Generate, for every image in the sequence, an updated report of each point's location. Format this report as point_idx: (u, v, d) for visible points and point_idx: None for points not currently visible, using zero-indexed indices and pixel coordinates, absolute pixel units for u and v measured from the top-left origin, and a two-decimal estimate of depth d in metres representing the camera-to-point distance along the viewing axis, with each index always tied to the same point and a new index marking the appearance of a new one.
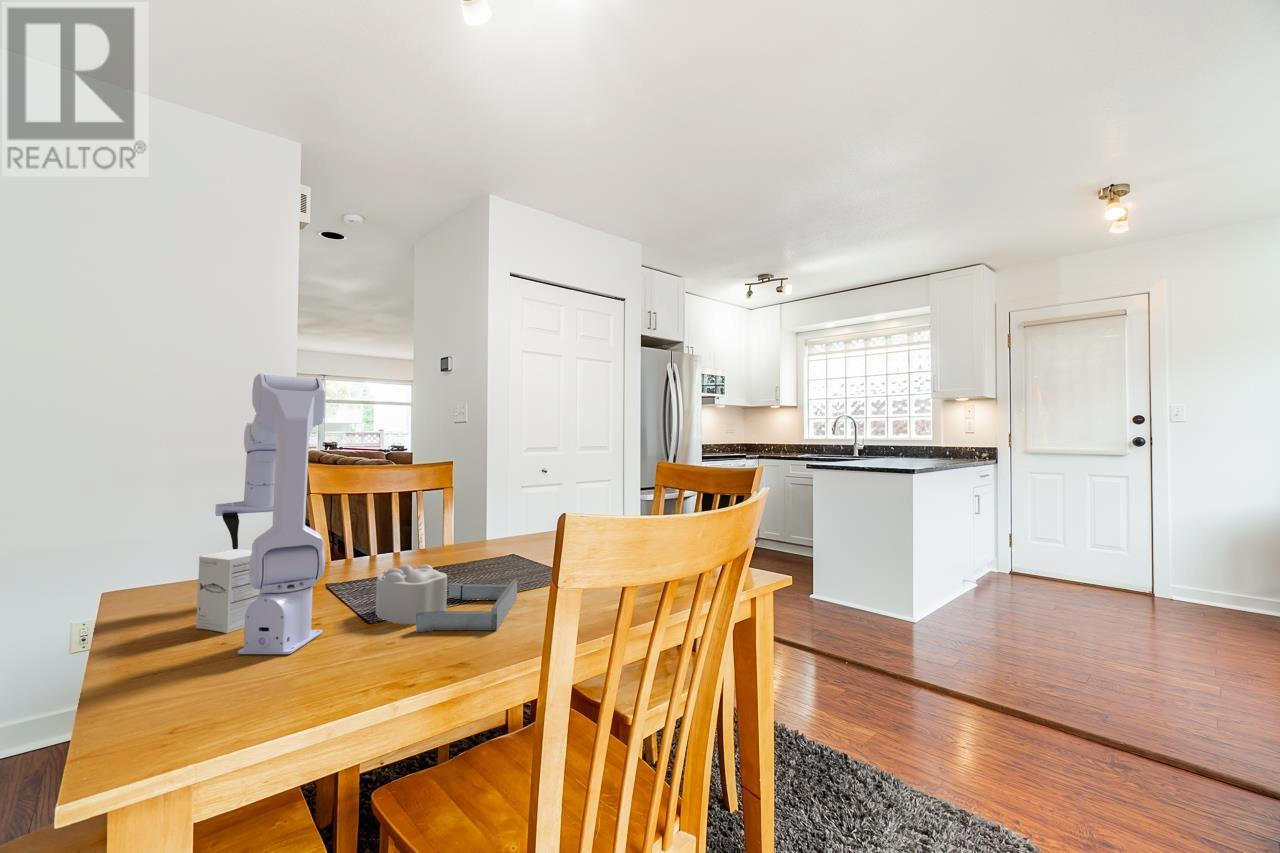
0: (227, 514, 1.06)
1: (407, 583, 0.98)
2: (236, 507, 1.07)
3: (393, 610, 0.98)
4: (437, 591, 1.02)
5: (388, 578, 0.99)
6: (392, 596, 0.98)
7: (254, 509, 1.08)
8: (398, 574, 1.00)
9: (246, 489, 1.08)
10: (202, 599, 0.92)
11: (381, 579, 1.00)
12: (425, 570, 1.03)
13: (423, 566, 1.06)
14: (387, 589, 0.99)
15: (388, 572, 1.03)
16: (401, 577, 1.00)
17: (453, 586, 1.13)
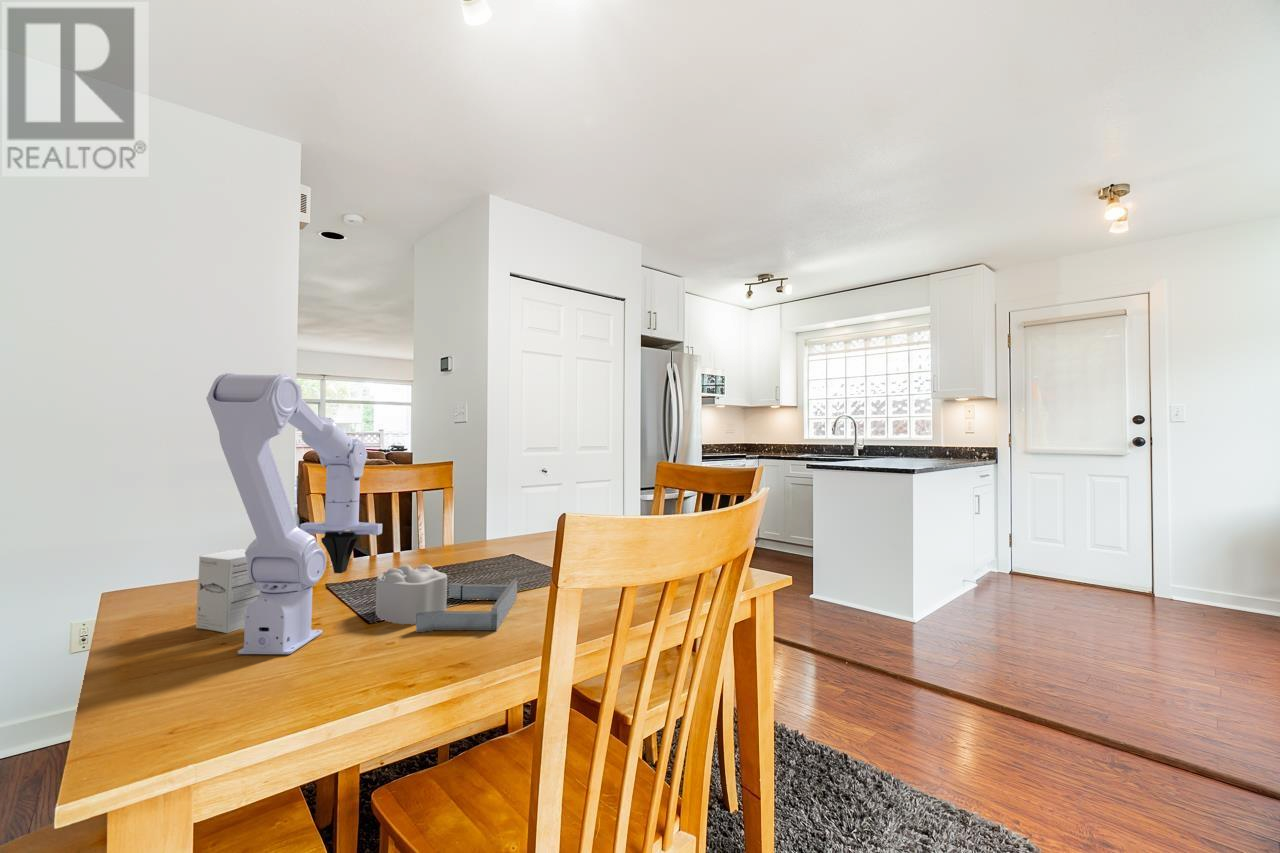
0: (328, 533, 1.02)
1: (407, 583, 0.98)
2: (314, 525, 1.01)
3: (393, 611, 0.98)
4: (437, 591, 1.02)
5: (388, 578, 0.99)
6: (392, 597, 0.98)
7: (326, 528, 1.00)
8: (398, 574, 1.00)
9: None
10: (202, 599, 0.92)
11: (381, 579, 1.00)
12: (425, 570, 1.03)
13: (423, 566, 1.06)
14: (387, 589, 0.99)
15: (388, 572, 1.03)
16: (401, 577, 1.00)
17: (453, 586, 1.13)
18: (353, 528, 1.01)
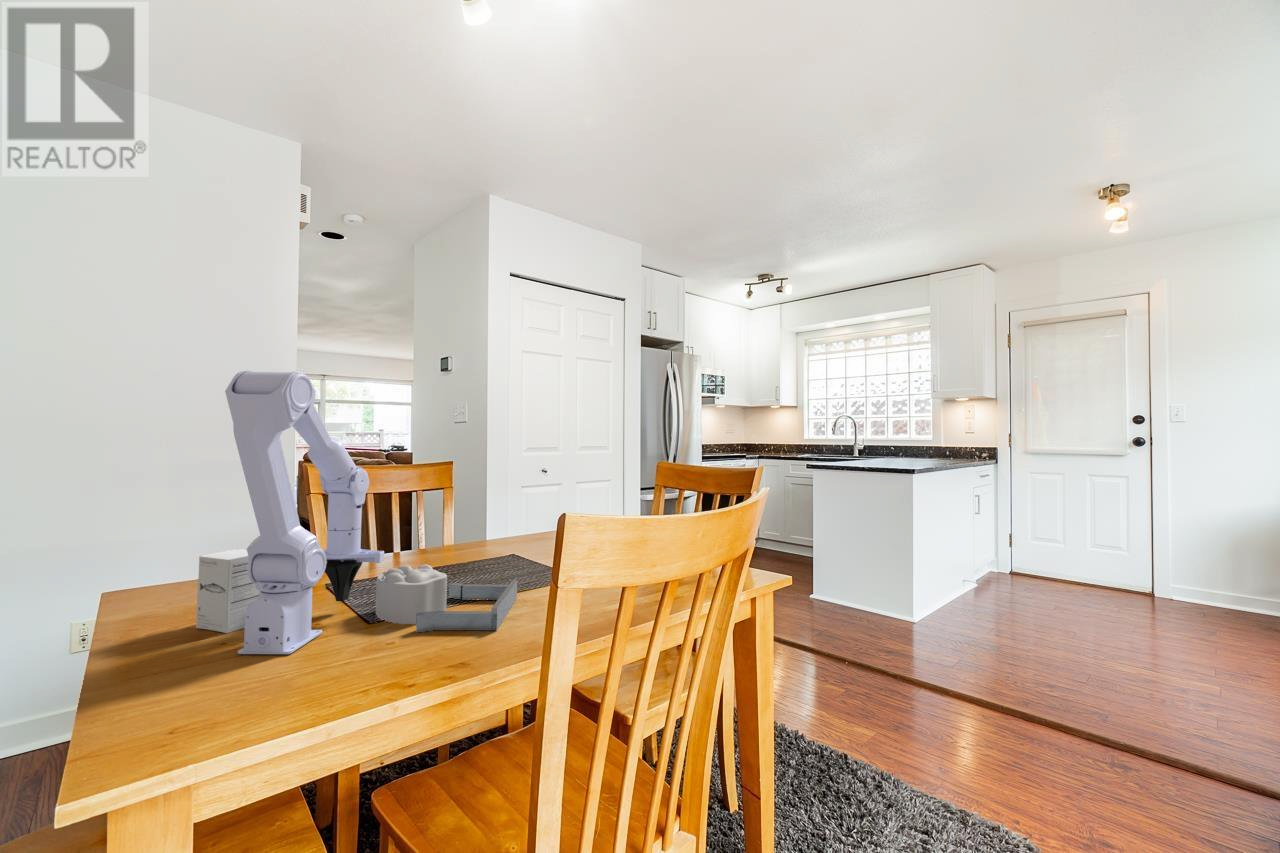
0: (330, 561, 1.02)
1: (407, 583, 0.98)
2: None
3: (393, 611, 0.98)
4: (437, 591, 1.02)
5: (388, 578, 0.99)
6: (392, 597, 0.98)
7: (328, 557, 1.00)
8: (398, 574, 1.00)
9: (327, 535, 1.02)
10: (202, 599, 0.92)
11: (381, 579, 1.00)
12: (425, 570, 1.03)
13: (423, 566, 1.06)
14: (387, 589, 0.99)
15: (388, 572, 1.02)
16: (401, 577, 1.00)
17: (453, 586, 1.13)
18: (355, 556, 1.01)
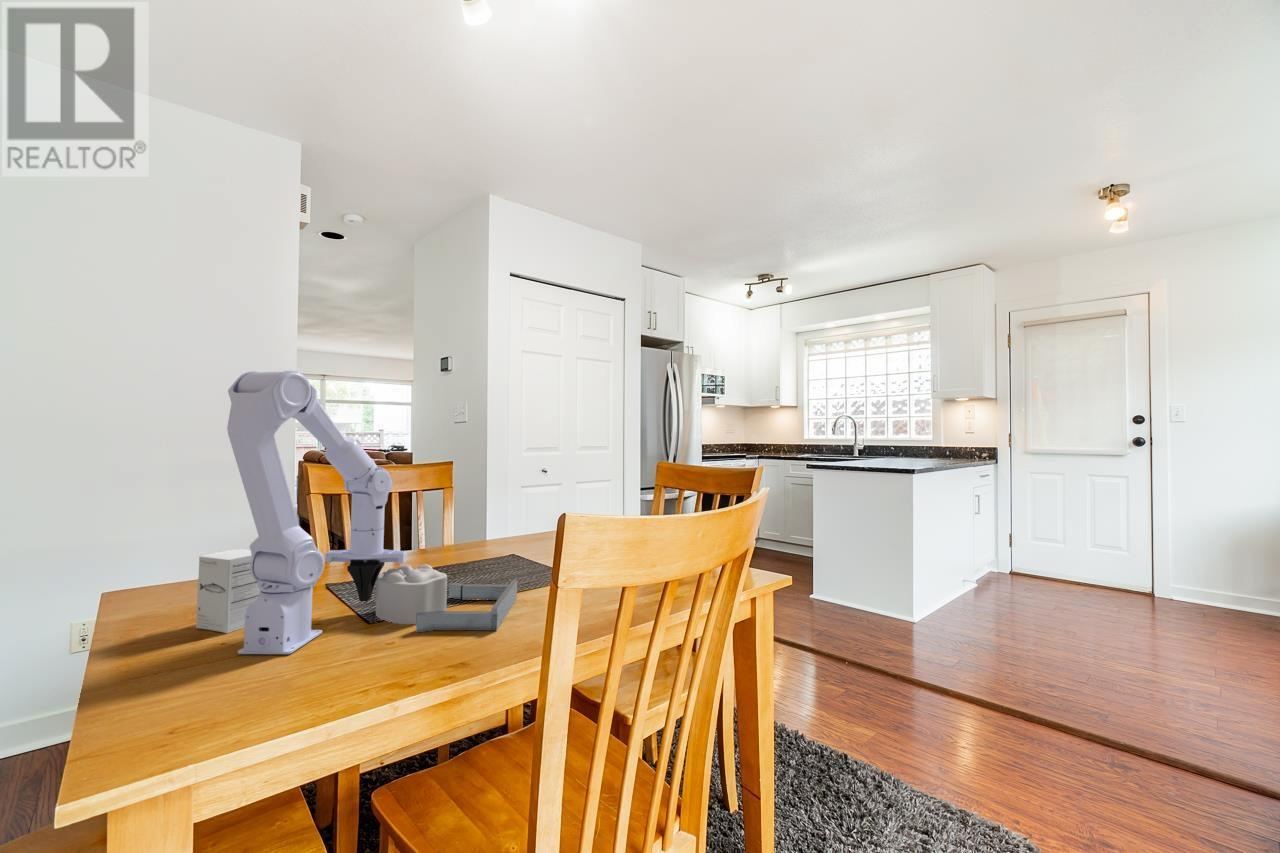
0: (354, 561, 1.02)
1: (407, 583, 0.98)
2: (340, 554, 1.01)
3: (393, 611, 0.98)
4: (437, 591, 1.02)
5: (388, 578, 0.99)
6: (392, 596, 0.98)
7: (352, 557, 1.01)
8: (398, 574, 1.00)
9: None
10: (202, 599, 0.92)
11: (381, 579, 1.00)
12: (425, 570, 1.03)
13: (423, 566, 1.06)
14: (387, 589, 0.99)
15: (388, 572, 1.02)
16: (401, 577, 0.99)
17: (453, 586, 1.13)
18: (379, 556, 1.01)
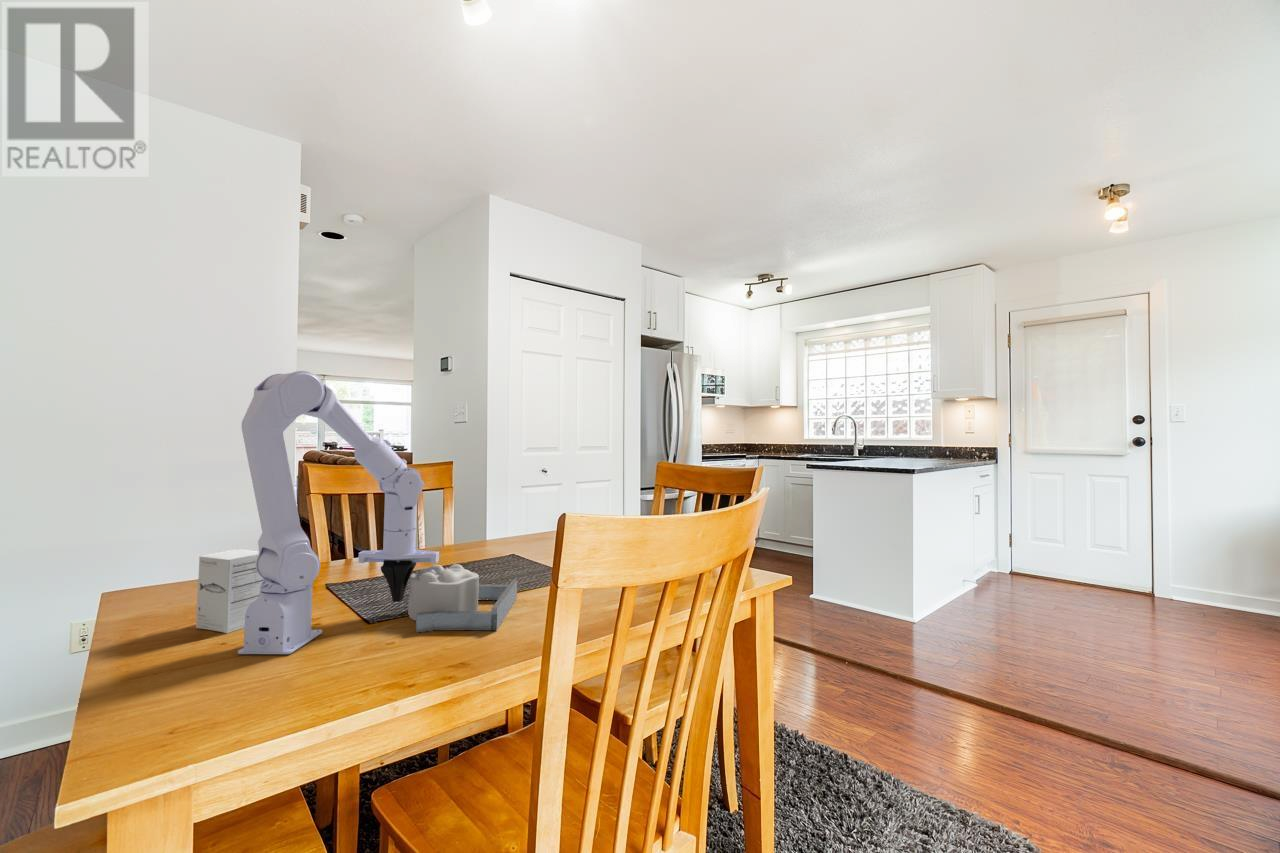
0: (387, 562, 1.03)
1: (441, 583, 0.98)
2: (373, 554, 1.02)
3: (427, 610, 0.98)
4: (470, 591, 1.02)
5: (422, 578, 0.99)
6: (426, 596, 0.98)
7: (386, 557, 1.01)
8: (432, 574, 1.00)
9: None
10: (202, 599, 0.92)
11: (414, 579, 1.01)
12: (457, 570, 1.03)
13: (454, 566, 1.06)
14: (421, 589, 0.99)
15: (421, 572, 1.03)
16: (435, 577, 1.00)
17: None
18: (412, 557, 1.02)
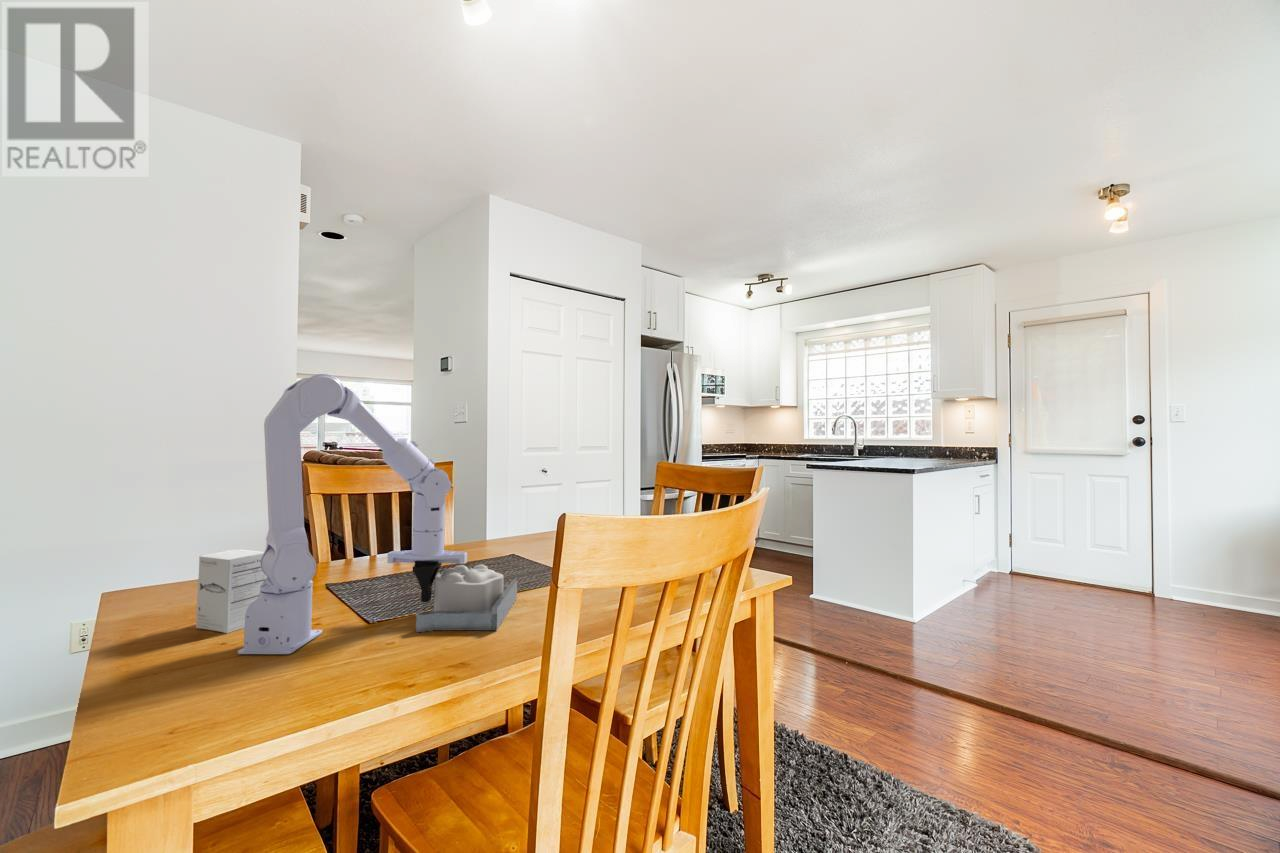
0: (418, 562, 1.03)
1: (468, 583, 0.98)
2: (402, 555, 1.02)
3: (454, 610, 0.98)
4: (495, 591, 1.02)
5: (448, 578, 1.00)
6: (452, 597, 0.98)
7: (415, 558, 1.01)
8: (458, 574, 1.00)
9: None
10: (202, 599, 0.92)
11: (440, 579, 1.01)
12: (483, 570, 1.03)
13: (479, 566, 1.07)
14: (447, 589, 0.99)
15: (446, 572, 1.03)
16: (461, 577, 1.00)
17: None
18: (441, 557, 1.02)
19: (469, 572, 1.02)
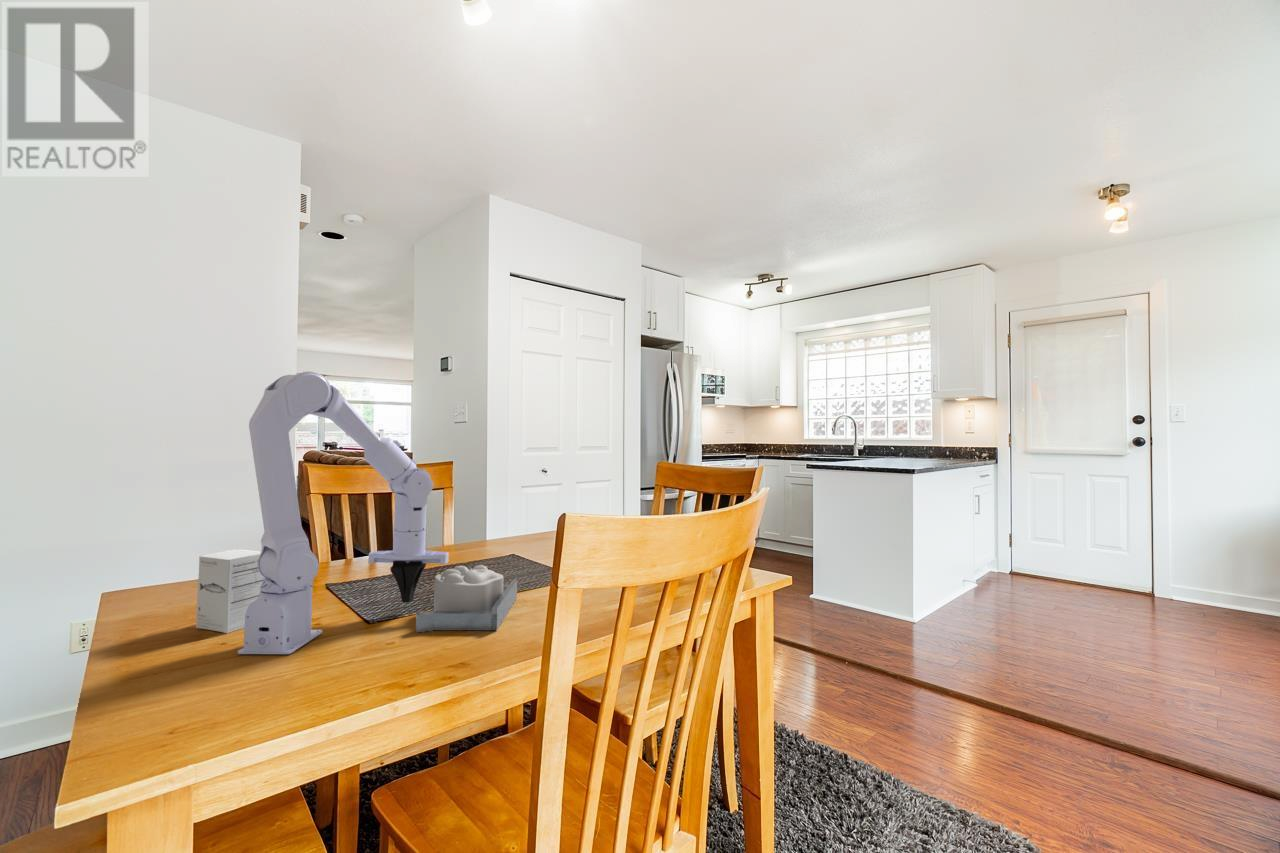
0: (396, 562, 1.03)
1: (467, 584, 0.98)
2: (383, 555, 1.02)
3: None
4: (495, 592, 1.02)
5: (448, 579, 0.99)
6: (452, 597, 0.98)
7: (396, 558, 1.01)
8: (457, 575, 1.00)
9: None
10: (202, 599, 0.92)
11: (440, 580, 1.01)
12: (483, 571, 1.03)
13: (479, 567, 1.07)
14: (447, 590, 0.99)
15: (446, 573, 1.03)
16: (461, 578, 1.00)
17: None
18: (422, 557, 1.02)
19: (469, 573, 1.02)
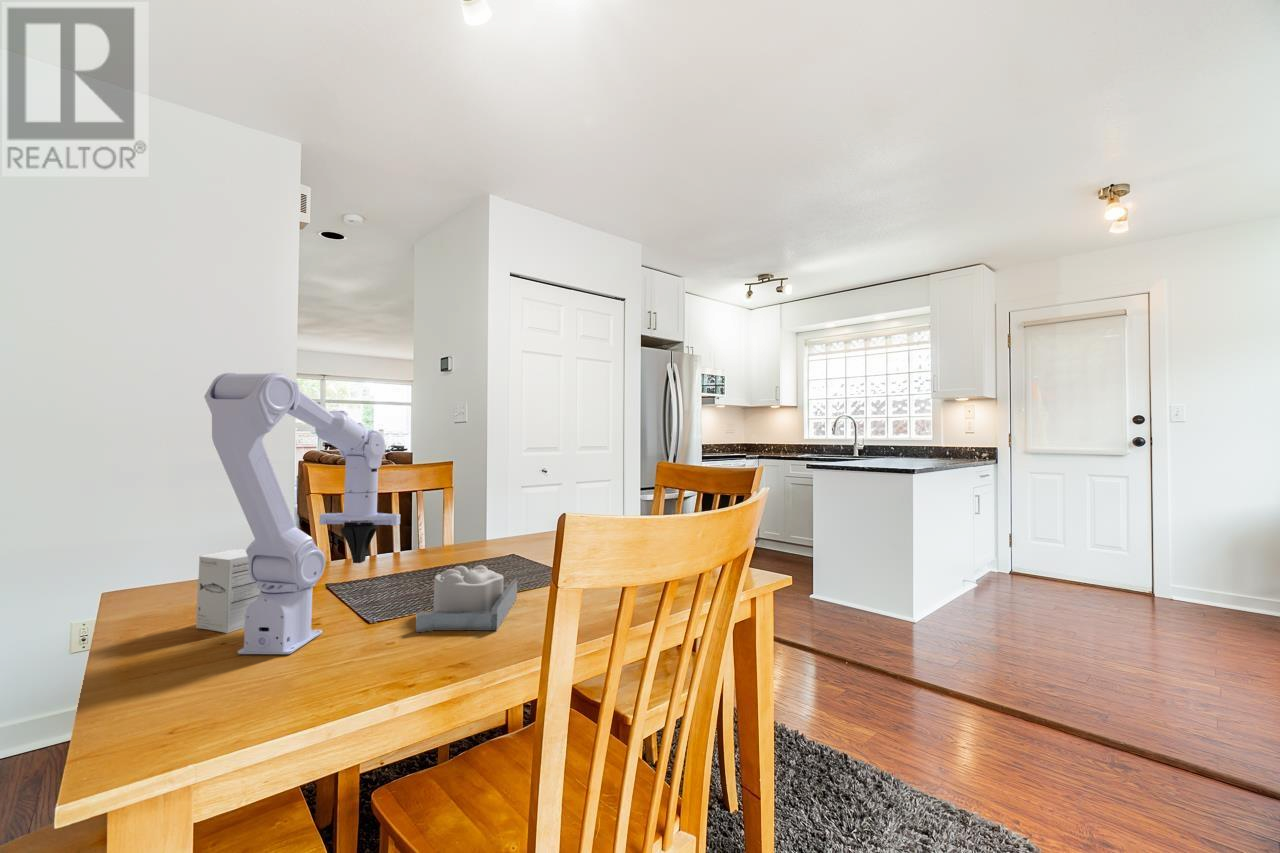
0: (347, 523, 1.03)
1: (468, 584, 0.98)
2: (334, 516, 1.03)
3: None
4: (495, 592, 1.02)
5: (448, 579, 0.99)
6: (452, 597, 0.98)
7: (346, 518, 1.02)
8: (458, 575, 1.00)
9: None
10: (202, 599, 0.92)
11: (440, 580, 1.01)
12: (483, 571, 1.03)
13: (479, 567, 1.06)
14: (447, 590, 0.99)
15: (446, 573, 1.03)
16: (461, 578, 1.00)
17: None
18: (372, 518, 1.02)
19: (469, 573, 1.02)
